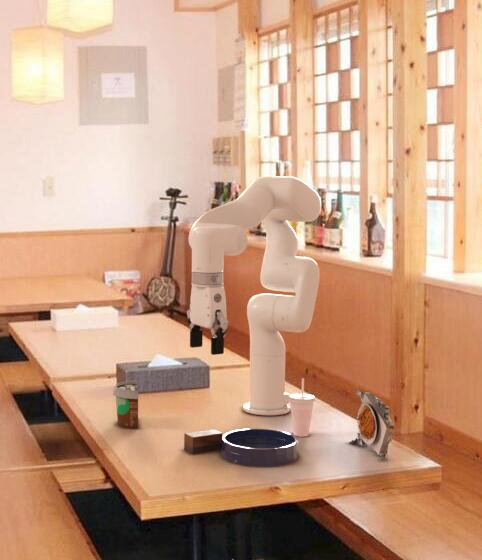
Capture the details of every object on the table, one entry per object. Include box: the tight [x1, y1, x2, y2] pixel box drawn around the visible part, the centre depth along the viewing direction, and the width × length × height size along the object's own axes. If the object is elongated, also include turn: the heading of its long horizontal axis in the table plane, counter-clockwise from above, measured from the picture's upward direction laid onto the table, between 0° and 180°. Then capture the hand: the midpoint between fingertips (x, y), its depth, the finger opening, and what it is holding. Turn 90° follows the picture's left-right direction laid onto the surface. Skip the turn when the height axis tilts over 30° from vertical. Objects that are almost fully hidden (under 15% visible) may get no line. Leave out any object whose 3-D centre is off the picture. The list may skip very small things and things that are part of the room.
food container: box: [112, 380, 139, 430], centre depth 267 cm, size 12×6×10 cm, turn 5°
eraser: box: [183, 428, 223, 455], centre depth 245 cm, size 8×4×4 cm, turn 120°
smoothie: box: [289, 377, 316, 438], centre depth 259 cm, size 6×6×14 cm
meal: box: [348, 389, 395, 461], centre depth 245 cm, size 15×4×13 cm, turn 19°
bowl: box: [221, 428, 299, 468], centre depth 241 cm, size 17×17×4 cm
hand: (206, 350), depth 250 cm, fingers open, 9 cm apart
